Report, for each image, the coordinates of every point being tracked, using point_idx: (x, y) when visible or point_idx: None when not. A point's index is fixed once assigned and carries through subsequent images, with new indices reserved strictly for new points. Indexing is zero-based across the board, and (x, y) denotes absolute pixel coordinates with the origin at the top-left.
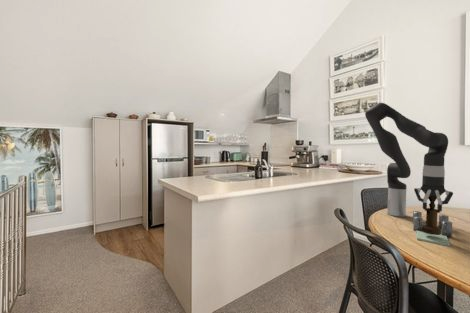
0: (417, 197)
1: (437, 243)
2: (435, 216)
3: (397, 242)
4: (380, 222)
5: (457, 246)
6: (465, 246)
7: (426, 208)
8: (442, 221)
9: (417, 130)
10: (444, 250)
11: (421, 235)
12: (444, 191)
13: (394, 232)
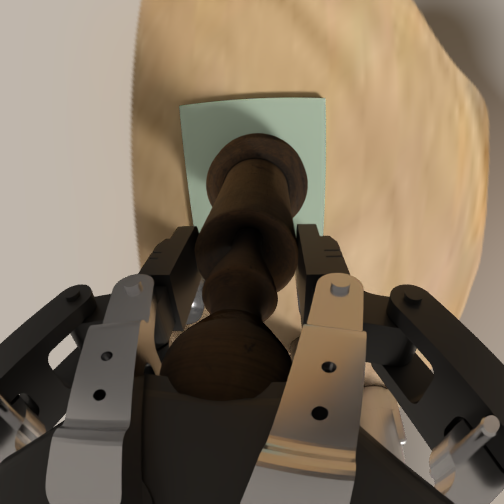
0: (456, 320)
1: (232, 100)
2: (221, 194)
3: (398, 6)
4: (451, 275)
5: (156, 133)
6: (131, 161)
7: (302, 232)
8: (199, 303)
9: None
10: (206, 27)
11: (303, 160)
12: (3, 460)
13: (418, 153)
